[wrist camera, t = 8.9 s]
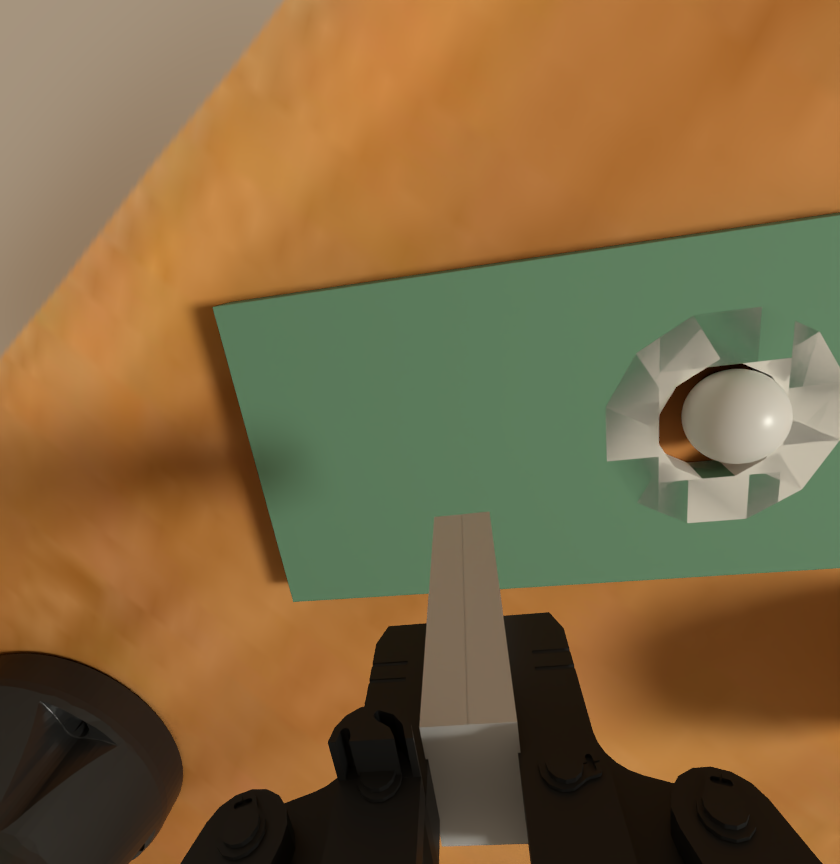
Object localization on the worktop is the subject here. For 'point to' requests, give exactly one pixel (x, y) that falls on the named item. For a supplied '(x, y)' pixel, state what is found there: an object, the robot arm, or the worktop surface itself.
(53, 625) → the worktop surface
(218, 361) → the worktop surface
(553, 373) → the mat
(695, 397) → the ball
